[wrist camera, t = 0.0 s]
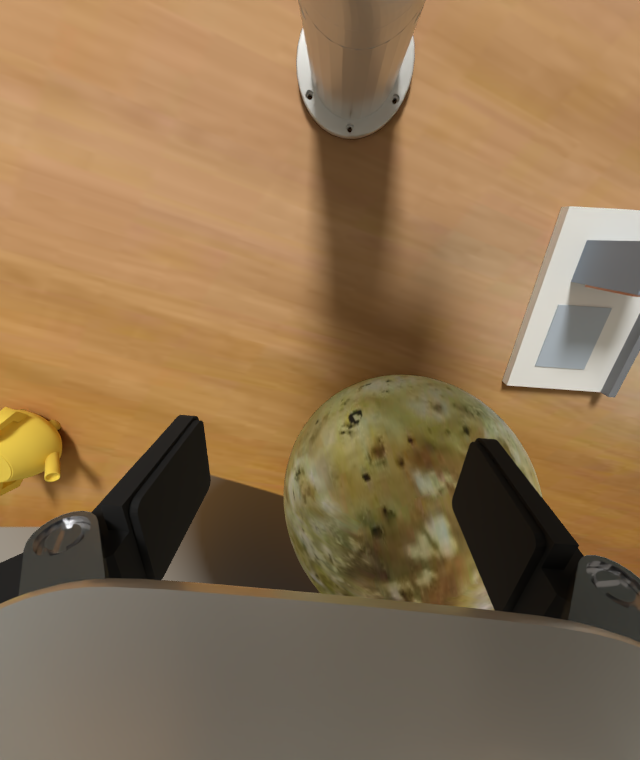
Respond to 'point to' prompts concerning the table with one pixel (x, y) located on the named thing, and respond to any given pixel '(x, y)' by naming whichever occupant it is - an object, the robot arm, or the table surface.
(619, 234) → the shelf board
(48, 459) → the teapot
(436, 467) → the speckled stone ball
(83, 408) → the table surface
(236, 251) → the table surface
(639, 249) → the box
